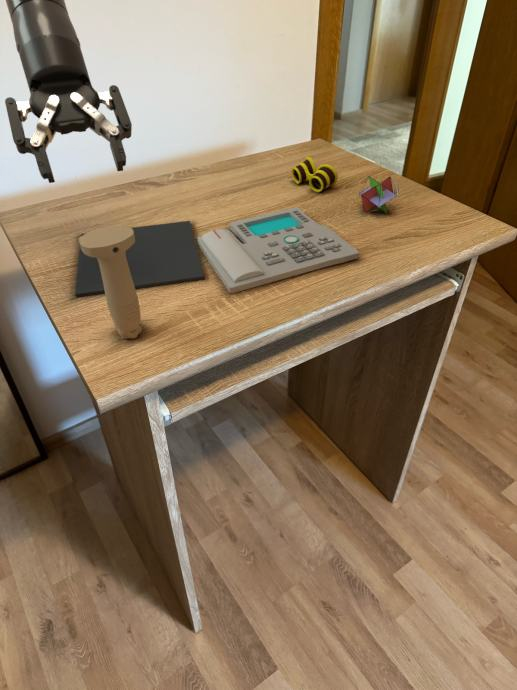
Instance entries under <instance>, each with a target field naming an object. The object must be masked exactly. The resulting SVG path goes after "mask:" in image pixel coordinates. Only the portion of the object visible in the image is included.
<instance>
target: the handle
mask: <svg viewBox="0 0 517 690" xmlns="http://www.w3.org/2000/svg"><path fill="white" fill-rule="evenodd" d="M132 228H133V227H131V226H129V225H126V224H113V225H107V226H102V227H97V228H95V229H93V230H90V231H88V232H85V233H86V234H84V233H83V234H84V235H83V236H81V235H80V237H79V238H78V243H79V248H80V247H81V250H82V251H83V253H84V254H85V255H87V256H90V257H94V258H97V259H98V262H99V266H100V271H101V275H102V280H103V285H104V290H105V293H104V295H105V300H106V305H107V308H108V311H109V315H110V317H111V319H112V322H113V325H114V326H115V329H116V331H117V333H118V335H119V336H120V337H121V339H123V340H126V339H134V340H135V339H136V338H138V336H139V334H141V333H142V332H143V324H142V323H141V322H142V321H141V320H142V317H141V308H140V307H141V306H140V300H139V297H138V294H137V289H135V287H134V283H133V280H132V277H131V273H130V270H129V266H128V263H127V259H126V253H125V251H126V250H127V249H128V248H130V247H131V246H132V245H133V244H134V243H135V236H134V231H133V229H132Z"/></svg>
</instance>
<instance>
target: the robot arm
mask: <svg viewBox="0 0 517 690" xmlns="http://www.w3.org/2000/svg"><path fill="white" fill-rule="evenodd" d="M5 3H6V8H7V10H8V13H9V17H10V20H11V24H12V31H13V36H14V37H13V38H14V41H15V46H16V47H15V48H16V51H17V53H18V55H19V59H20V62H21V67H22V69H23V72H24V76H25V79H26V83H27V87H28V90H29V93H30V97H29V100H19V101H17V100H16V99H15V98H13V97H11V96H10V97H7V98H5V100H4V104H5V108H6V109H5V110H6V113H7V118H8V122H9V127H10V131H11V137H12V140H13V143H14V144H15V146H16V147H15V148H16V149H17V152H18V153H19V154H21V155H25V154H31V155H33V156H34V158H35V161H36V164H37V169H38V171H39V175H40V177H41V178H42V179H43V180H47V181H48V183H49V184H53V183H56V180H55V177H54V173H53V170H52V166H51V163H50V160H49V157H48V154H47V149H48V147H49V145H50V144H51V143H52V141H53V140H54V137H55V135H56V133H59V134H60V135H62V136H63V135H68V134H71V133H73V132H75V133H76V132H77V133H85V132H87V129H89V130H91V131H92V132H94V133H95V134H96V135H97V136H100V137H102V138H103V139H105V140H106V141H107V142H108V143H109V148H110V151H111V154H112V157H113V161H114V163H115V164H114V165H115V169H116V171H117V172H124V167H126V166H127V155H126V151H125V148H124V144H123V140H125V139H130V138H132V129H133V127H132V126H133V125H132V121H131V118H130V116H129V112H128V109H127V107H126V104H125V102H124V99H123V96H122V93H121V91H120V88H119V86H117V85H115V84H112V85H110V86H109V89H108V90H106V91H100V92H97V90H96V89H95V88H94V87H93V84H92V82H91V79H90V75H89V71H88V68H87V65H86V61H85V58H84V55H83V53H82V52H83V51H82V47H81V41H80V38H79V37H78V35H77V32H76V29H75V27H74V24H73V23H72V21H71V17H70V14H69V11H68V7H67V5H66V2H65V0H5ZM101 104H102V105H104V106H105V107H106V109H108V110H109V111H113V113H114V116H115V120H116V122H117V124H118V125H115V124H113V123H112V122H111V121H110V120H109V119H107V117H106V115H104V114H103V113H102V112H101V111H100V110H99V108H100V106H101ZM30 113H32V114H33V115H34V116H35V117H36V118H37V119H38V121H37V123H36V128H35V130H34V133H33V134H32V136H31V138H30V137H26V135H25V129H24V125H23V123H24V122H26V121H27V120H28V115H29V114H30Z"/></svg>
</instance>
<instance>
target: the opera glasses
mask: <svg viewBox="0 0 517 690" xmlns="http://www.w3.org/2000/svg"><path fill="white" fill-rule="evenodd" d="M290 174H291V177H292V179H293V182H294V183H296V184H301V183H303V182H308V185H309V187H310V189H311V190H312V191H313V192H315V193H320V192H322V191H323V190H325V189H327V188H330V187H333V186H335V185H336V183H337V182H338V179H339V176H338V171H337V169H335V168H334V166H332V165H330V164H327V163H322V164H320V165H319V166H318V167H316V165H315V162H314V161H313V159H312V157H310V156H307V157H306V158H305V159H304V161H302V162H299V163H298V164H297V165H296V166H294V167H292V168H291V169H290Z"/></svg>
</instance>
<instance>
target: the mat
mask: <svg viewBox="0 0 517 690" xmlns="http://www.w3.org/2000/svg"><path fill="white" fill-rule="evenodd" d="M131 228H132V229H133V231H134V236H135V243H134V244H133V245H132V246H131V247H130V248H128V249H127V250H126V251H125V253H126V259H127V263H128V266H129V270H130V273H131V277H132V280H133V283H134V287H135V290H138V289H144V288H152V287H158V286H165V285H173V284H180V283H188V282H194V281H202V280H205V279H206V277H205V273H204V270H203V266H202V262H201V257H200V254H199V251H198V247H197V243H196V239H195V235H194V232H193V228H192V224H191V221H190V220H185V221H176V222H175V221H174V222H167V223H160V224H152V225H143V226H135V227H131ZM86 233H87V232H85V233H80V237H81V236H83V235H84V234H86ZM102 294H105V290H104V285H103V280H102V275H101V271H100V266H99V262H98V259H97V258H94V257H90V256H87V255H85V254H84V253H83V251H82V250H81V247H80V246H79V251H78V261H77V269H76V279H75V289H74V296H75V298H81V297H87V296H94V295H102Z"/></svg>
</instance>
